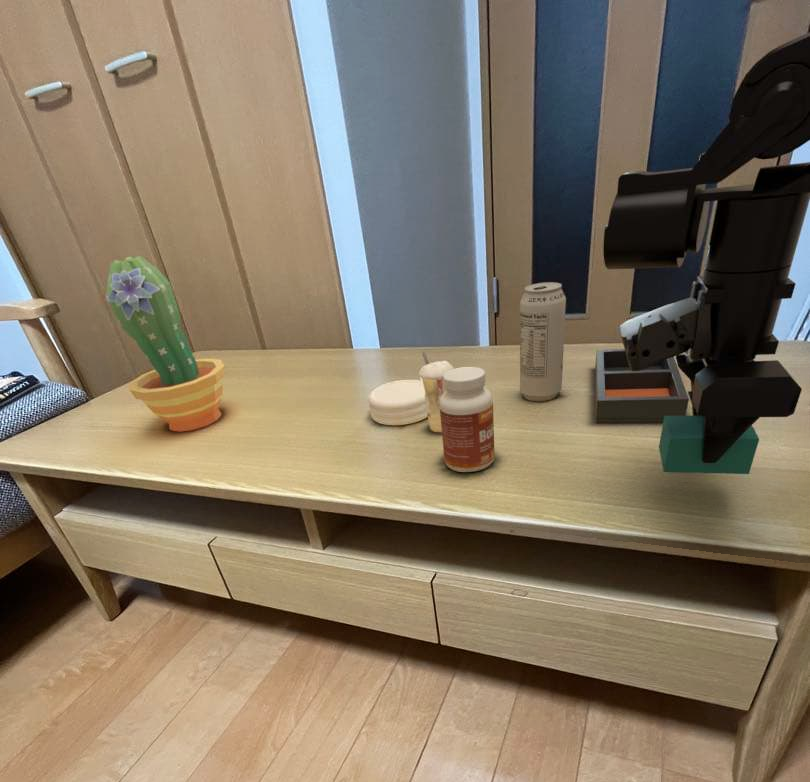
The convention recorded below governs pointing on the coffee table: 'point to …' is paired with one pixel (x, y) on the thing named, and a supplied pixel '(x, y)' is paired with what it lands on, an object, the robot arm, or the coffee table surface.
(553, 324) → the energy drink can
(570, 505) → the coffee table surface
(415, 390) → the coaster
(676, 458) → the green rectangular block
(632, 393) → the pad holder
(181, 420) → the potted cactus
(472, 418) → the pill bottle
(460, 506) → the coffee table surface
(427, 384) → the milkshake
